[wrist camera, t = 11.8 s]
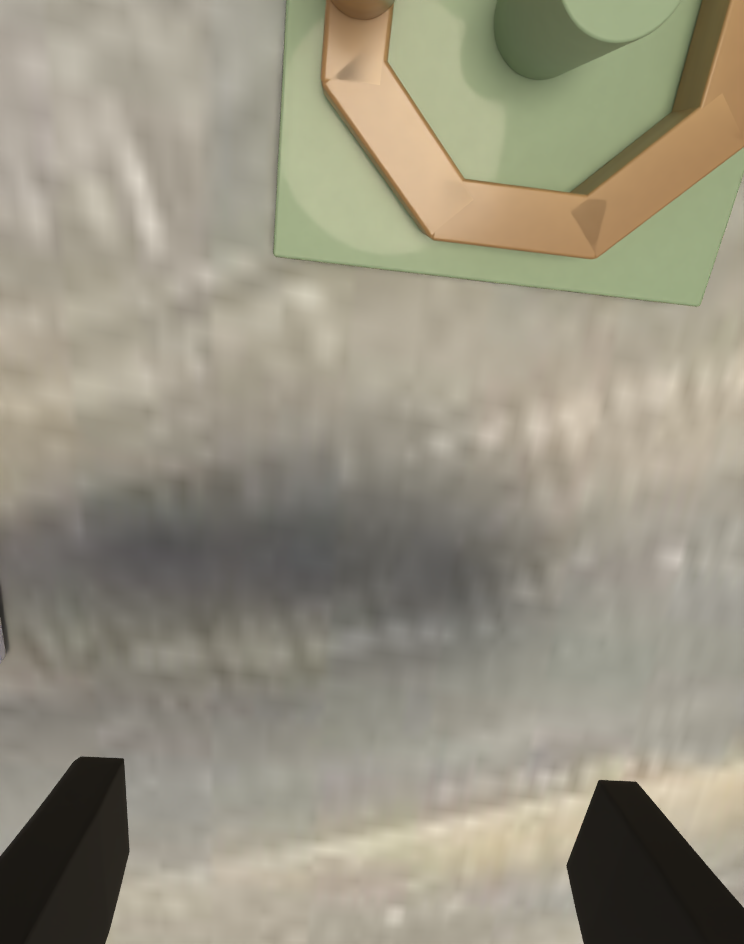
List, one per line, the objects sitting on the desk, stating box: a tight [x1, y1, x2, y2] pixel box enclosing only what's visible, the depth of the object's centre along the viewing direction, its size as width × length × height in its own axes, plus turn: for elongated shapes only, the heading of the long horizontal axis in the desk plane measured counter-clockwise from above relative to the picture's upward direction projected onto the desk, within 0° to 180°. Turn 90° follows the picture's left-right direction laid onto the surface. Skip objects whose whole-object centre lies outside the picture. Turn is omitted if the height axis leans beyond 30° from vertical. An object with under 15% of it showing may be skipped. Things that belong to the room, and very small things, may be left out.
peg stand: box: [273, 0, 744, 307], centre depth 11 cm, size 10×10×5 cm
